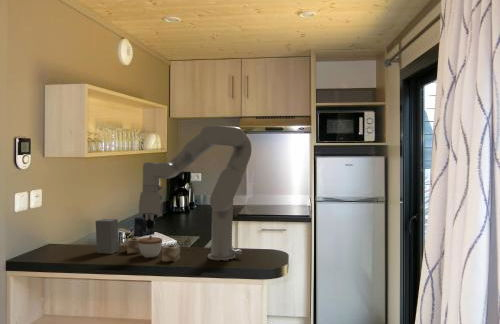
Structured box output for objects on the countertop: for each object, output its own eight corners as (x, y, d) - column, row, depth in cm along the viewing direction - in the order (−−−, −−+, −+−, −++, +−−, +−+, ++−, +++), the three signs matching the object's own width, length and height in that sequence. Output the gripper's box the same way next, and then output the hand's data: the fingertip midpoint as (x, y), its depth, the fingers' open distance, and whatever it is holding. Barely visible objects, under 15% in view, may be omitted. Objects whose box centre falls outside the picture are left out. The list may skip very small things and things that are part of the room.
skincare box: (119, 251, 198) (119, 218, 198) (110, 254, 191) (110, 220, 191) (103, 250, 200) (104, 217, 200) (94, 253, 193) (95, 219, 193)
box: (141, 236, 235) (141, 218, 235) (133, 235, 238) (133, 217, 238) (155, 234, 244) (155, 216, 244) (147, 232, 247) (147, 215, 247)
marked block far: (140, 250, 202) (140, 237, 202) (140, 252, 196) (140, 240, 196) (127, 250, 200) (128, 237, 200) (127, 253, 194) (127, 240, 194)
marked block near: (179, 258, 186) (180, 245, 186) (174, 262, 180) (175, 247, 180) (167, 258, 187) (167, 244, 187) (162, 261, 181) (162, 247, 181)
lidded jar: (150, 252, 197) (150, 232, 197) (166, 255, 192) (167, 235, 192) (133, 256, 188) (133, 236, 188) (150, 260, 182) (150, 239, 182)
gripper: (168, 188, 193) (168, 227, 193) (137, 188, 193) (136, 227, 194) (165, 190, 186) (164, 230, 186) (132, 189, 186) (131, 229, 186)
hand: (150, 228), depth 190 cm, fingers closed
